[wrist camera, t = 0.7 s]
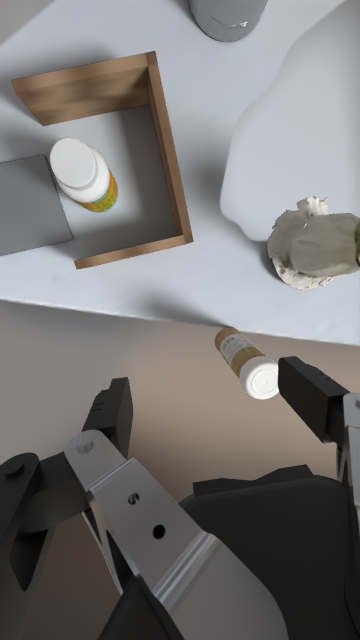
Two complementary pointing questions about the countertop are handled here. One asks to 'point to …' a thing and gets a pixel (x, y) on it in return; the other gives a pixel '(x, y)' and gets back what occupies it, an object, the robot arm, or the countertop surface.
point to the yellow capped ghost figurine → (314, 244)
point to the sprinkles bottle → (248, 364)
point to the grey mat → (30, 207)
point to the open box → (106, 96)
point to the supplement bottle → (83, 175)
